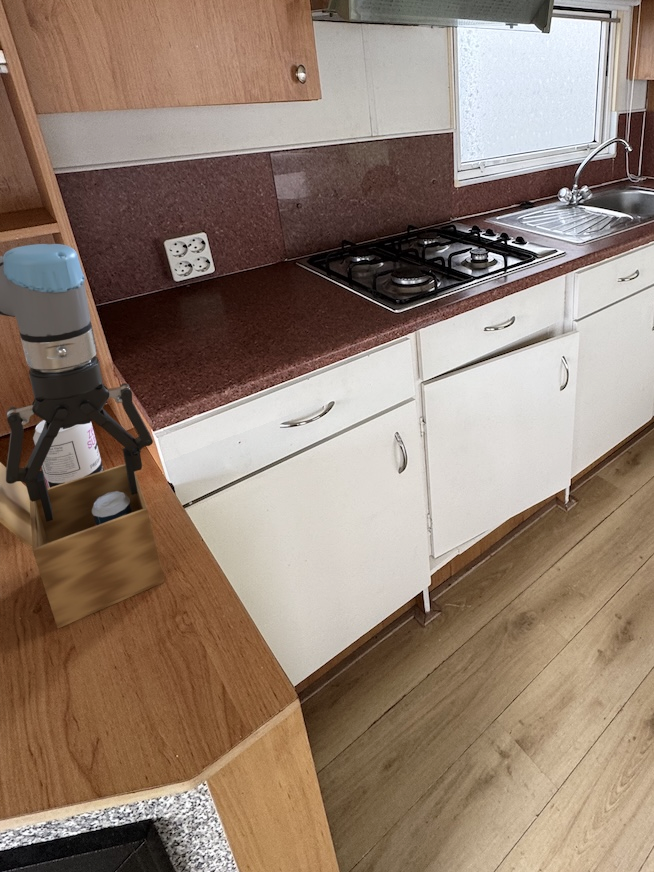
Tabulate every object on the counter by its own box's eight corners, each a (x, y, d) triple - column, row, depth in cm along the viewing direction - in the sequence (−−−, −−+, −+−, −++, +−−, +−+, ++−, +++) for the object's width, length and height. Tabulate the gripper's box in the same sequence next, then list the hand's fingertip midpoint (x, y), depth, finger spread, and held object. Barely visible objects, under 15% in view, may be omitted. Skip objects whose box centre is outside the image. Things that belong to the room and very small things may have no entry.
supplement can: (43, 498, 104) (21, 426, 98) (94, 474, 110) (75, 405, 105) (65, 515, 100) (44, 441, 94) (116, 489, 106) (98, 418, 101)
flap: (32, 545, 74) (29, 547, 74) (29, 489, 84) (26, 491, 84) (-3, 514, 71) (-6, 517, 71) (-2, 460, 81) (-5, 462, 81)
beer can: (151, 555, 91) (136, 492, 87) (126, 578, 86) (109, 513, 82) (125, 549, 92) (110, 487, 88) (99, 572, 87) (81, 507, 83)
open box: (57, 628, 79) (32, 550, 74) (51, 566, 89) (29, 494, 85) (164, 582, 87) (147, 508, 82) (147, 529, 97) (131, 461, 92)
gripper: (-52, 394, 67) (-8, 549, 74) (163, 353, 81) (183, 488, 88) (-47, 370, 73) (-7, 517, 80) (153, 335, 86) (173, 463, 93)
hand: (92, 501), depth 84 cm, fingers open, 9 cm apart
